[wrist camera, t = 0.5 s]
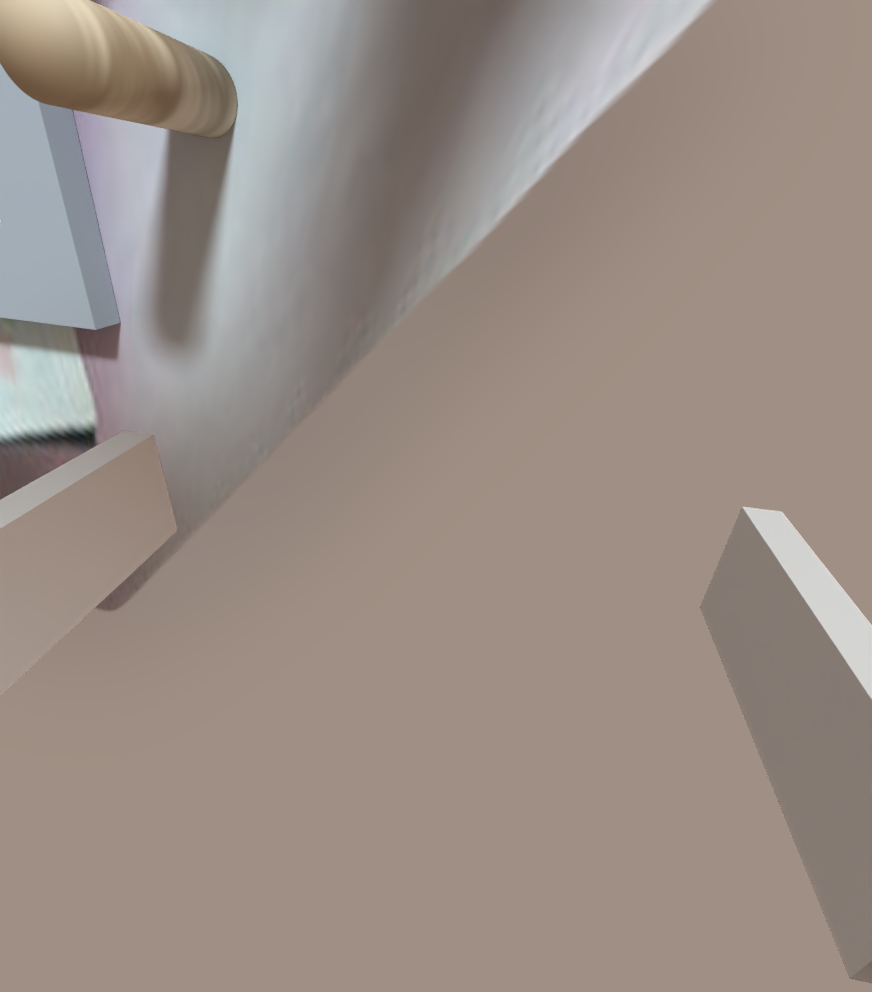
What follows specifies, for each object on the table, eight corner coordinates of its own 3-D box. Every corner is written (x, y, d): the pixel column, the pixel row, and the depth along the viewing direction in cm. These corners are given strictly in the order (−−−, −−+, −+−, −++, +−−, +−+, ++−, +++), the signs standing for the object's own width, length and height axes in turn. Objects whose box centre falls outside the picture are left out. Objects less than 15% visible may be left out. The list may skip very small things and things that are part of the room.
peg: (167, 50, 29) (-30, -32, 19) (233, 55, 29) (68, -27, 19) (179, 135, 31) (7, 101, 21) (241, 140, 31) (96, 108, 21)
